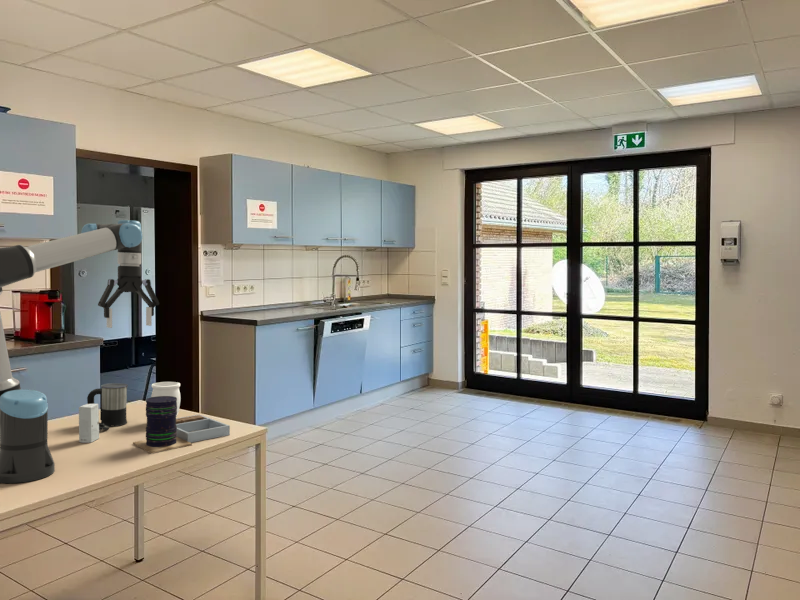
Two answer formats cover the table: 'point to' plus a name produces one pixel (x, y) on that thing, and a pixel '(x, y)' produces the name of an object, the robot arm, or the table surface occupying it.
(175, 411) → the rusty oil drum
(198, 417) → the block
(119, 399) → the milk frother
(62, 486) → the table surface
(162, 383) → the jar
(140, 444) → the mat
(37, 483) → the table surface
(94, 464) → the table surface
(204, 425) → the tray
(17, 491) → the table surface
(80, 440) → the skincare box
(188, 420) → the block
